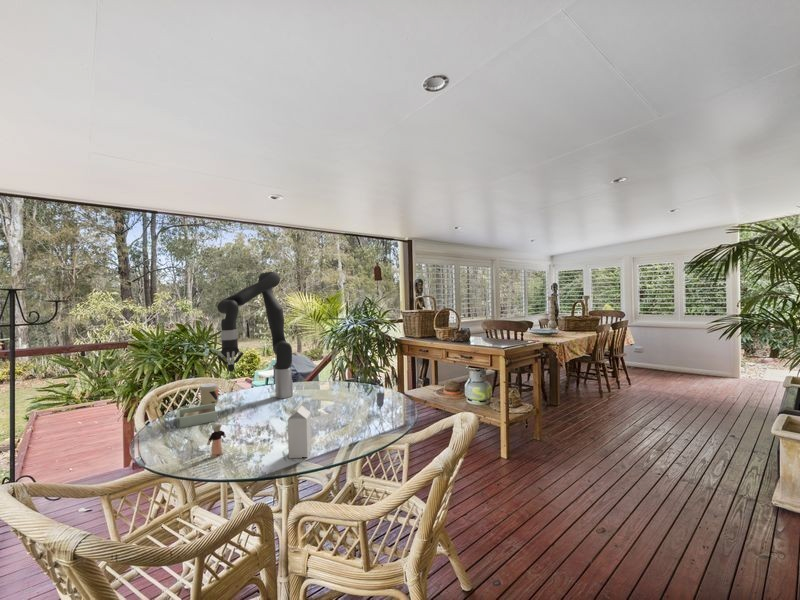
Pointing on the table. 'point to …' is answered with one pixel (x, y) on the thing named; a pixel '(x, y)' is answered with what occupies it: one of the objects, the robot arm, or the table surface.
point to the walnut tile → (205, 411)
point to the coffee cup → (209, 393)
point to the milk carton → (299, 433)
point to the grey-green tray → (196, 416)
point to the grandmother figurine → (216, 440)
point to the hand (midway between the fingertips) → (231, 371)
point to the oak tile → (191, 413)
